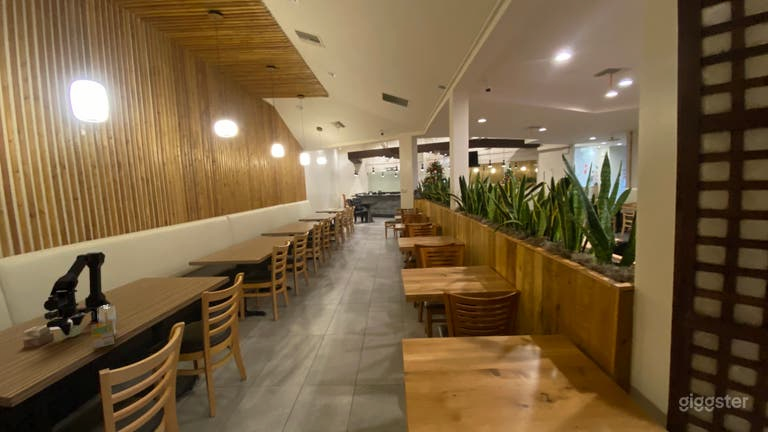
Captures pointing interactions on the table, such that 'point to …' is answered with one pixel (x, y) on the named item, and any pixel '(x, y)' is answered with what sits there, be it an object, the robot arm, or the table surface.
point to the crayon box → (103, 334)
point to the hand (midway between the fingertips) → (71, 332)
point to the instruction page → (58, 327)
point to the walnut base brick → (38, 341)
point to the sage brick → (72, 331)
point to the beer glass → (107, 315)
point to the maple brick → (36, 332)
